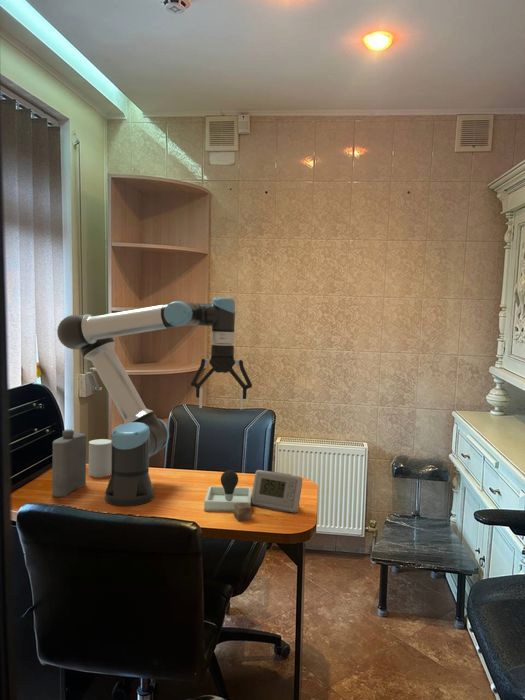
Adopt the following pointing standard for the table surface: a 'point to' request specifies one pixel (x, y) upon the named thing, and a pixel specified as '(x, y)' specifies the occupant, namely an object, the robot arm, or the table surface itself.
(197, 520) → the table surface
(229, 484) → the light bulb
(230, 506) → the tray
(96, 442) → the cup
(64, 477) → the flask
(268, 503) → the digital clock
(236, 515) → the walnut block
